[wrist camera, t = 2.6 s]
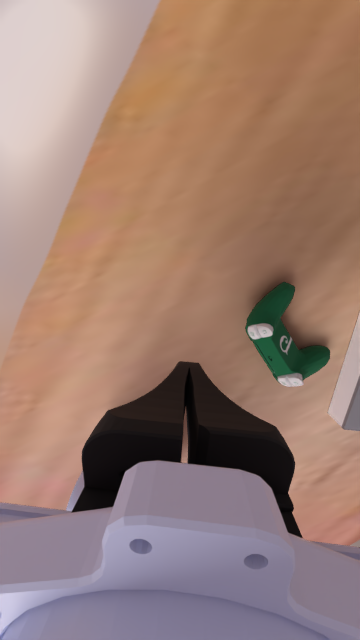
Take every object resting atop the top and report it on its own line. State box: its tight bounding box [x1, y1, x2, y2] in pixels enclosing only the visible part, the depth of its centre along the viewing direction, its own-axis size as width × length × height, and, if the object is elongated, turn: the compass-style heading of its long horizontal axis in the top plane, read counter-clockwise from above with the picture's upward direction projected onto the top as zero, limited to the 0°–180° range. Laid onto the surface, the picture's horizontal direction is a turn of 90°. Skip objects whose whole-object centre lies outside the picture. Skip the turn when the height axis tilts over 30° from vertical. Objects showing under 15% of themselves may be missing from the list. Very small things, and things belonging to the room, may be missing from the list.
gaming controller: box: [245, 282, 330, 387], centre depth 17 cm, size 9×4×6 cm
